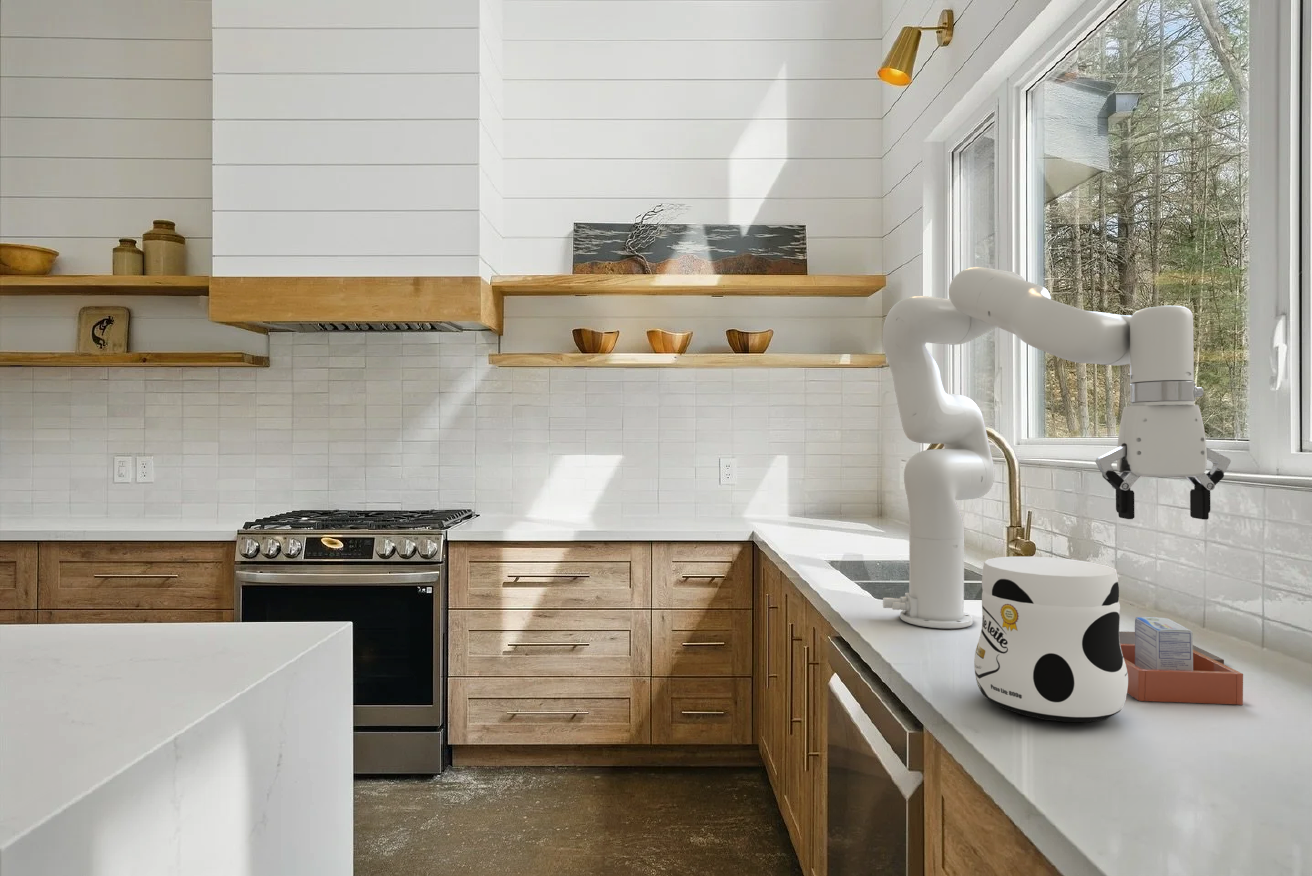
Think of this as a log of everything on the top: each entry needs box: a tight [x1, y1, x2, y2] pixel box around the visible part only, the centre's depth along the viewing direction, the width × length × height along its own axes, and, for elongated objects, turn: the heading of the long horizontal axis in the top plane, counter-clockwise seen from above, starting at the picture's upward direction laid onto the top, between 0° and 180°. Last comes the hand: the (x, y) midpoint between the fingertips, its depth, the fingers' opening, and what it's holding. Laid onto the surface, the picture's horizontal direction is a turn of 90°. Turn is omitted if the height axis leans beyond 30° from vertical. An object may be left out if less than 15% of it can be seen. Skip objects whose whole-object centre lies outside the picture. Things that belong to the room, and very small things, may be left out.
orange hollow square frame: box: [1120, 644, 1244, 706], centre depth 109 cm, size 13×14×4 cm
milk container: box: [973, 555, 1128, 723], centre depth 100 cm, size 17×17×18 cm
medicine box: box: [1134, 616, 1194, 671], centre depth 109 cm, size 8×4×9 cm, turn 168°
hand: (1162, 518), depth 111 cm, fingers open, 9 cm apart
